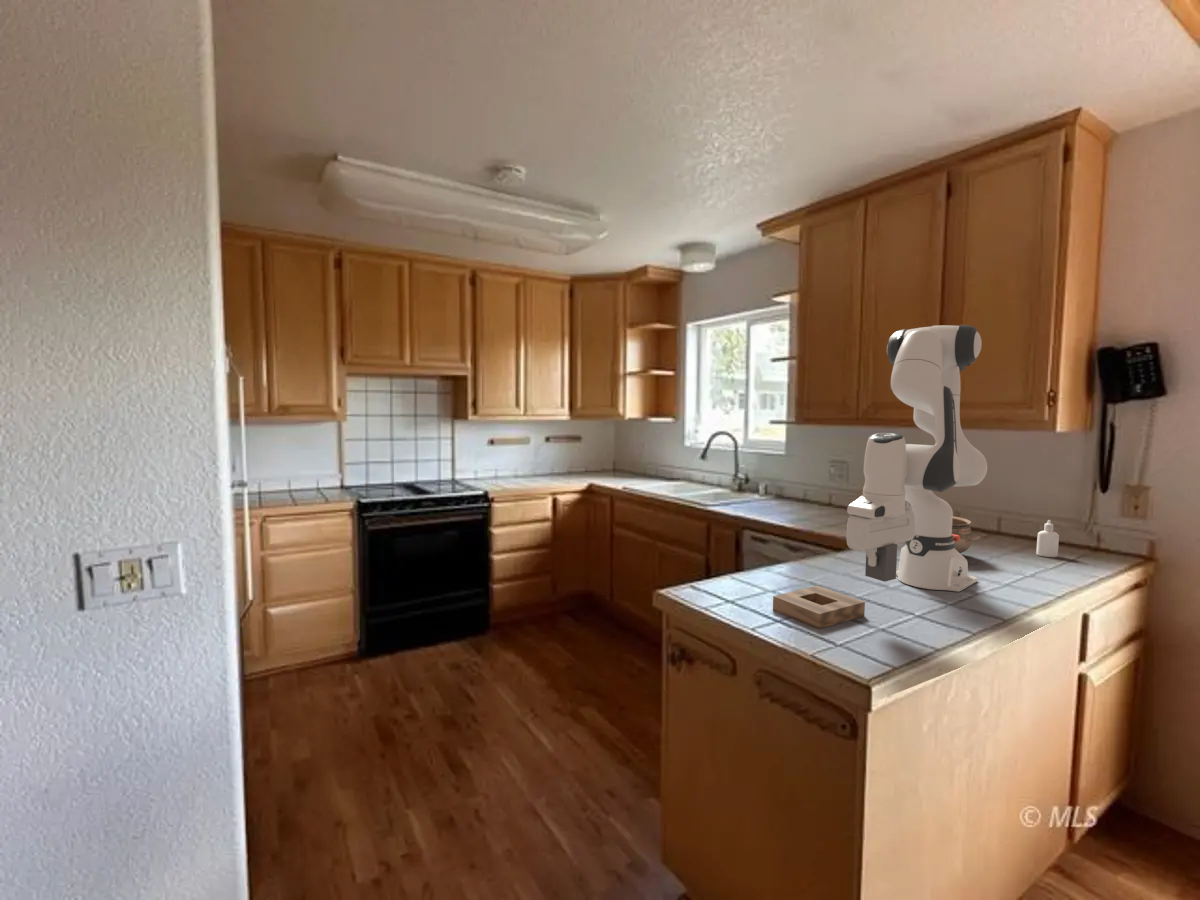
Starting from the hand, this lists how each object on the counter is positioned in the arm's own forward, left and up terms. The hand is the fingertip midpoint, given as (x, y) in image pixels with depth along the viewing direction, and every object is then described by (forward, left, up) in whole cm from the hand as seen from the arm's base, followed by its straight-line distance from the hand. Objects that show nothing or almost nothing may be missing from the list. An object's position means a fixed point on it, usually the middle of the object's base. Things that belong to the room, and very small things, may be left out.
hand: (880, 563), depth 139 cm
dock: (+6, -12, -14) cm, 20 cm away
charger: (0, 0, -3) cm, 3 cm away
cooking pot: (-71, -28, -15) cm, 77 cm away
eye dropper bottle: (-102, -10, -15) cm, 103 cm away
